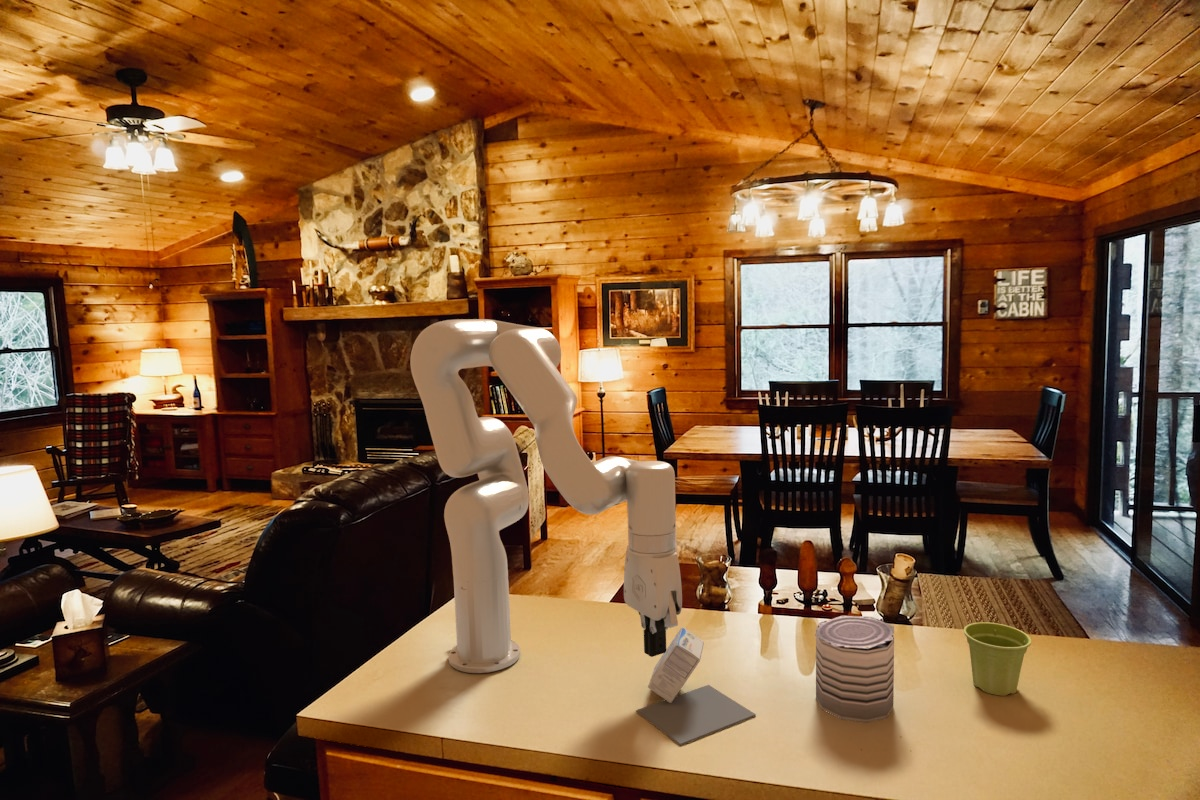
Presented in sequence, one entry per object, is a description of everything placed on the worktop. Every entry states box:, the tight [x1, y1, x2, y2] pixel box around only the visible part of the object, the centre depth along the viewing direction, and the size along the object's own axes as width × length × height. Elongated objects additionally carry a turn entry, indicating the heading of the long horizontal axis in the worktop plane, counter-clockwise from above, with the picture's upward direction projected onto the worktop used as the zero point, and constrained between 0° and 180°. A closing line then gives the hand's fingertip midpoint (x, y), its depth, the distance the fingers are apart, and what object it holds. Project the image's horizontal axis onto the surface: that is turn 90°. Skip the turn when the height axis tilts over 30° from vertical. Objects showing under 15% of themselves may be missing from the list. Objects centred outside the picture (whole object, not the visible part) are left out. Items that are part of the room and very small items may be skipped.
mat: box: [636, 684, 757, 747], centre depth 114 cm, size 11×14×1 cm
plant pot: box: [963, 621, 1032, 696], centre depth 119 cm, size 9×9×9 cm
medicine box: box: [647, 627, 705, 703], centre depth 120 cm, size 8×4×9 cm
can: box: [814, 615, 895, 724], centre depth 116 cm, size 11×11×12 cm
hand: (655, 652), depth 121 cm, fingers closed
